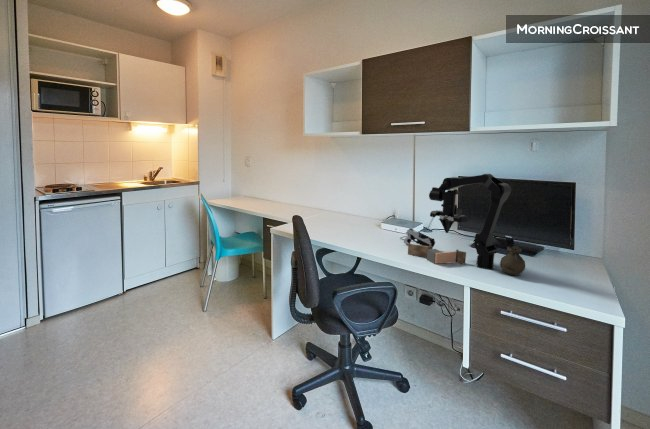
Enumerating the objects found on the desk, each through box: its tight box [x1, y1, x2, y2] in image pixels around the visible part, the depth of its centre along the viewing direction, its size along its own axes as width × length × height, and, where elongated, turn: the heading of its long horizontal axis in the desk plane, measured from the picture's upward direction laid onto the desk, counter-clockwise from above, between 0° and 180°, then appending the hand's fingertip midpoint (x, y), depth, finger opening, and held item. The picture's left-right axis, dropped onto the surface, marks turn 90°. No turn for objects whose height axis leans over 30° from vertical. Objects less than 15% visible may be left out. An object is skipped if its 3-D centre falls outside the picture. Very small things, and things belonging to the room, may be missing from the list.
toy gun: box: [403, 228, 436, 249], centre depth 192 cm, size 2×17×10 cm, turn 51°
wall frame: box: [407, 243, 467, 264], centre depth 172 cm, size 28×2×6 cm, turn 59°
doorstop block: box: [426, 248, 442, 265], centre depth 167 cm, size 6×4×6 cm
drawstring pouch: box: [499, 245, 526, 276], centre depth 150 cm, size 10×10×12 cm
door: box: [434, 250, 456, 265], centre depth 165 cm, size 11×1×5 cm, turn 107°
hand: (446, 232), depth 175 cm, fingers closed
